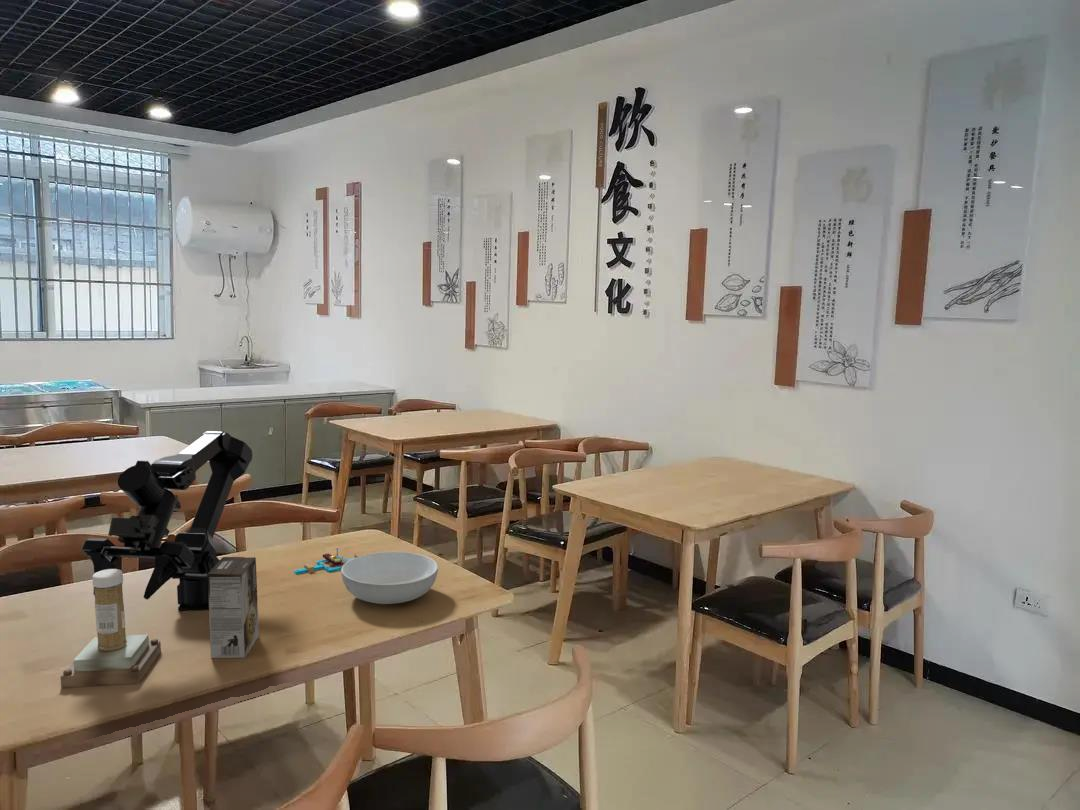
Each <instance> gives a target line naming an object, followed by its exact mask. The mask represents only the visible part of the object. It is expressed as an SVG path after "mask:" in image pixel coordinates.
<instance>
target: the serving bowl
mask: <svg viewBox="0 0 1080 810" xmlns="http://www.w3.org/2000/svg"><path fill="white" fill-rule="evenodd" d="M362 555H363V556H359V557H356V558H355V557H353V558H354V559H352V558H350V559H351V560H349V561H348V562H346V563H345V564H344V565H341V566H342V568H341V570H340V572H341V579H342V582H343V584H344V587H345V588H346V590H347V591H348V592H349V593H350V594H351V595H352V596H353V597H355V598H357V599H359V600H361V601H363V602H367V603H371V604H378V605H395V604H401V603H403V604H404V603H406V602H411V601H413V600H415V599H418V598H420V597H422V596H423V595H425V594H426V593H427V592H429V591H430V589H432V587H433V586H434V584H435V582H436V580H437V576H438V573H439V564H438V563H437V562H436V561H435V560H434V559H432V558H431V557H429V556H426V555H423V554H420V553H415V552H408V551H380V552H379V551H378V552H373V553H368V554H362Z"/></svg>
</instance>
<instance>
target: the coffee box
mask: <svg viewBox="0 0 1080 810" xmlns="http://www.w3.org/2000/svg"><path fill="white" fill-rule="evenodd" d="M219 560H220V561H219V562H218V563H217V564H216V565H215V566H214V567H213V569H212V570H211V571H210V572H209V573H208V574H207V575H208V595H209V609H208V612H209V614H208V616H209V617H208V618H209V641H210V642H209V643H210V645H209V646H210V658H211V659H235V658H236V659H242V658H243V659H244V658H247V656H248V654H249V653H250V651H251V649H252V648H253V646H254V644H255V643H256V642H257V639H258V638H259V635H260V634H259V633H260V631H259V608H258V607H259V606H258V584H257V583H258V581H257V558H256V556H254V557H250V556H249V557H245V556H223V557H221V558H220V559H219Z"/></svg>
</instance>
